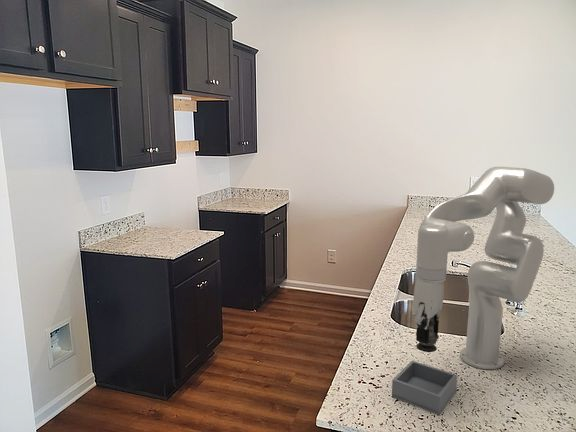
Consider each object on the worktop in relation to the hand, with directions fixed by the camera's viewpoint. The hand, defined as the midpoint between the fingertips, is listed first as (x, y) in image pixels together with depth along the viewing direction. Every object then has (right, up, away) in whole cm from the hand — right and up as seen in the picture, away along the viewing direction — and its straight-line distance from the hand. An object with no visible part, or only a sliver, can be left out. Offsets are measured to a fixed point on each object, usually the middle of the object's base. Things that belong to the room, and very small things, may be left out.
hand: (427, 336), depth 120 cm
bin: (0, -17, +3) cm, 17 cm away
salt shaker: (0, -3, +1) cm, 3 cm away
